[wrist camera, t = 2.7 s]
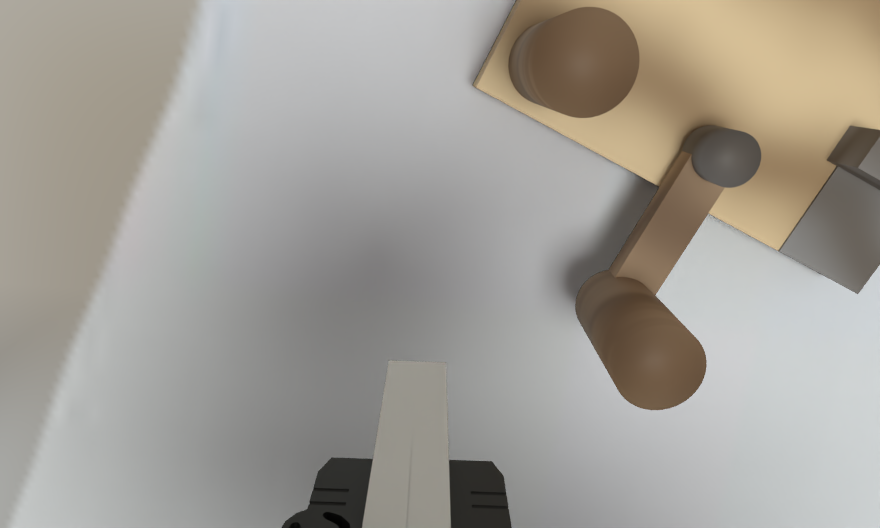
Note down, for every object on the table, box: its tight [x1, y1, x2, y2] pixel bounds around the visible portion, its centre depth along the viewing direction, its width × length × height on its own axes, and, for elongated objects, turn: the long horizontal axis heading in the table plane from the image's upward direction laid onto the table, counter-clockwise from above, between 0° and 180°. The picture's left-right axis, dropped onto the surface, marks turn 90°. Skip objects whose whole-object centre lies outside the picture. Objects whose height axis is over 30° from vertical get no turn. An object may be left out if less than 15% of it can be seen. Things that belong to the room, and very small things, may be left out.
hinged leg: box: [575, 125, 761, 410], centre depth 23 cm, size 10×3×6 cm, turn 153°
